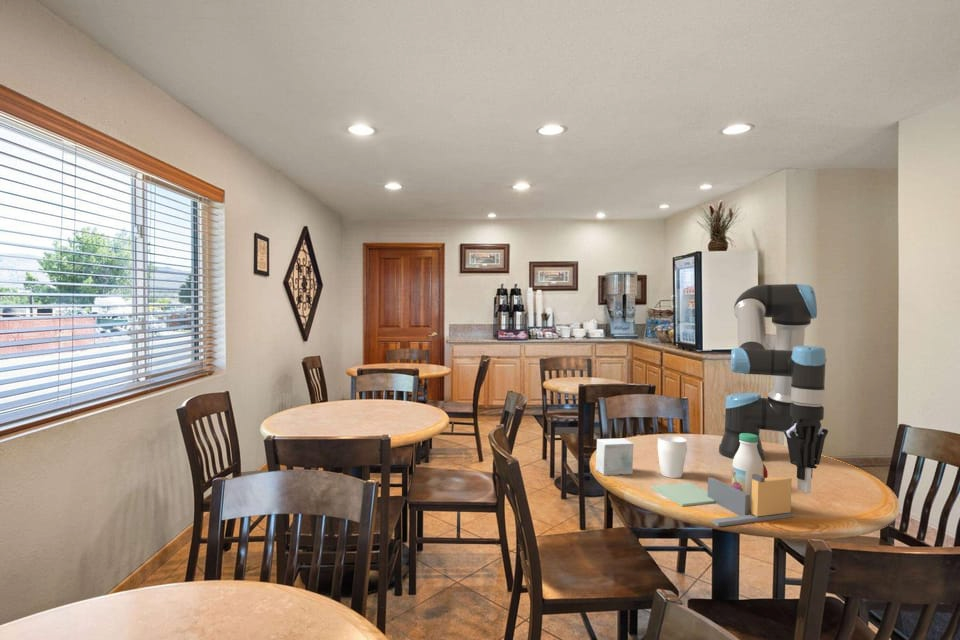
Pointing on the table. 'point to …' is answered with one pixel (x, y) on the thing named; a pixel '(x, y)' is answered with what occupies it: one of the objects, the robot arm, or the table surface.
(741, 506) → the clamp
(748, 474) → the milk bottle
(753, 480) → the tan wooden slab
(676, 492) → the mat
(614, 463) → the skincare box
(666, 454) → the cup
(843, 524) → the table surface
